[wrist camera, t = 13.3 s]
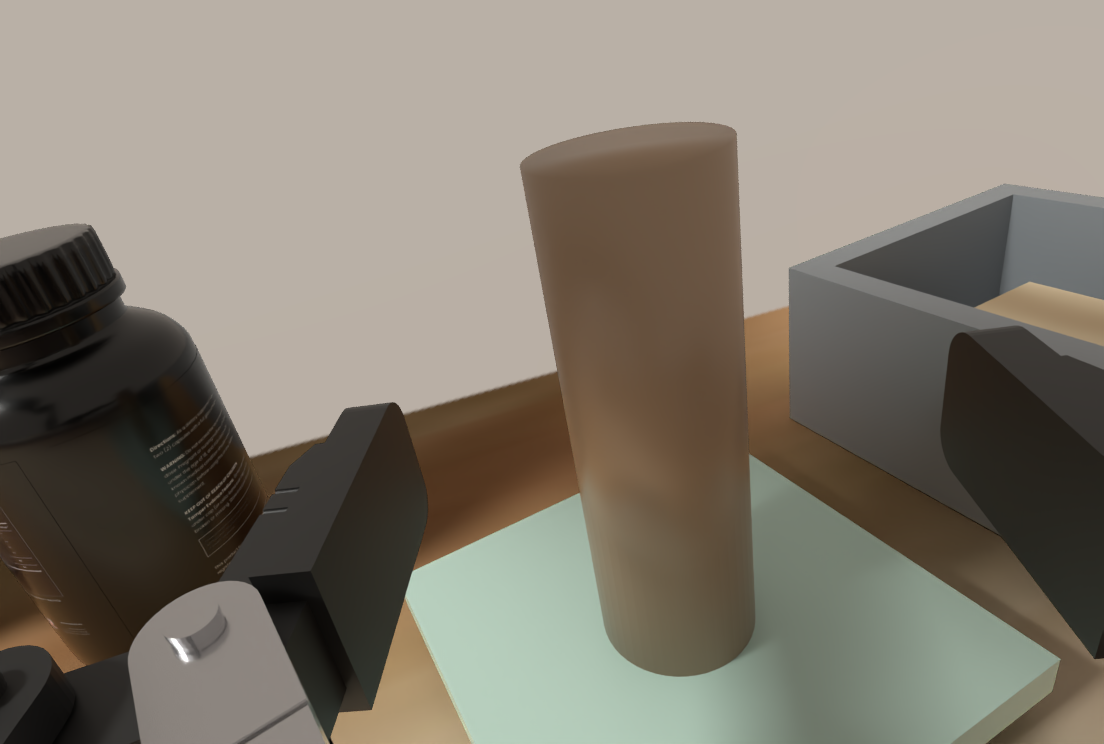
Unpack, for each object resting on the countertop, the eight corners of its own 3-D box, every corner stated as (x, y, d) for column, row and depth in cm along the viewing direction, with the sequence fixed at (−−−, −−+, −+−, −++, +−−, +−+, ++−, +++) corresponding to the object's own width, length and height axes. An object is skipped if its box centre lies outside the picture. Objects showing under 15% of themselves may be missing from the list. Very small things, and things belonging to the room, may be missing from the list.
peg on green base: (615, 1066, 12) (412, 384, 5) (416, 628, 21) (255, 186, 14) (1044, 721, 15) (1208, 87, 9) (716, 478, 24) (689, 76, 18)
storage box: (1113, 599, 17) (1175, 392, 15) (789, 417, 26) (788, 267, 24) (1335, 432, 21) (1418, 241, 18) (984, 322, 30) (1004, 183, 27)
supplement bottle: (236, 503, 28) (92, 202, 22) (331, 570, 23) (181, 216, 18) (45, 620, 23) (-195, 286, 18) (117, 728, 19) (-169, 332, 13)
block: (1062, 449, 21) (1081, 361, 20) (941, 397, 24) (949, 319, 23) (1141, 400, 22) (1165, 315, 21) (1016, 357, 26) (1029, 281, 24)
